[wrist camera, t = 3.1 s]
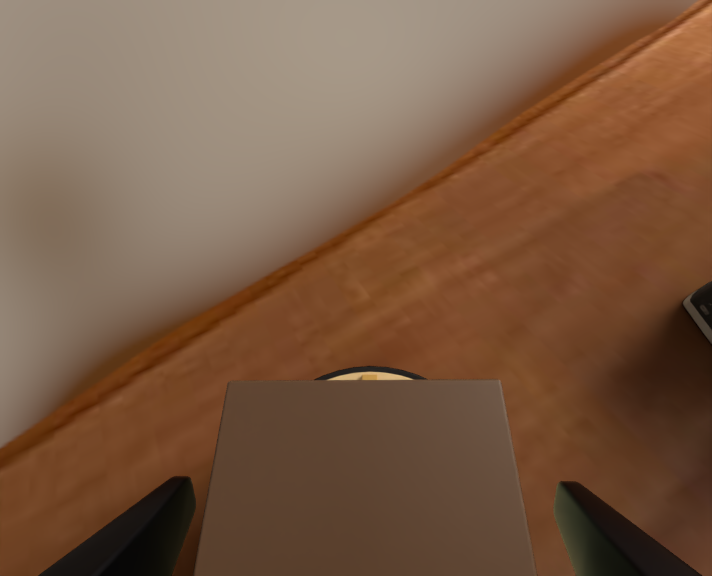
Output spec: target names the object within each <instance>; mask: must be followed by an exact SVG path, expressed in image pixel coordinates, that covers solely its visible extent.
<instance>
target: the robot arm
mask: <svg viewBox="0 0 712 576" xmlns="http://www.w3.org/2000/svg"><path fill="white" fill-rule="evenodd" d="M195 508H196V499H195V495H194V490H193V485H192V481H191V478H190V477H188V476H174V477H172V478H170V479H169V480H167V481H166V482H165V483H163V484H162V485H161V486H159V487H158V488H156V489H155V490H154V491H152V492H151V493H150V494H148V495H147V496H146V497H144V498H143V499H142V500H140V501H139V502H137V503H136V504H135V505H133V506H132V507H131V508H129V509H128V510H127V511H125V512H124V513H123V514H121V515H120V516H118V517H117V518H116V519H114V520H113V521H112V522H110V523H109V524H108V525H106V526H105V527H104V528H102V529H101V530H99V531H98V532H97V533H95V534H94V535H93V536H91V537H90V538H89V539H87V540H86V541H85V542H83V543H82V544H80V545H79V546H78V547H76V548H75V549H74V550H72V551H71V552H70V553H68V554H67V555H66V556H64V557H63V558H61V559H60V560H59V561H57V562H56V563H55V564H53V565H52V566H51V567H49V568H48V569H47V570H45V571H44V572H42V573H41V574H40V575H38V576H171V575H172V572H173V570H174V567H175V564H176V562H177V559H178V556H179V553H180V551H181V548H182V545H183V543H184V540H185V537H186V534H187V532H188V529H189V526H190V523H191V521H192V518H193V515H194V512H195ZM554 516H555V520H556V523H557V525H558V528H559V531H560V533H561V536H562V539H563V542H564V544H565V547H566V550H567V552H568V555H569V558H570V560H571V563H572V566H573V568H574V571H575V574H576V576H702V575H701V574H699V573H698V572H697V571H696V570H694V569H693V568H692V567H690V566H689V565H688V564H686V563H685V562H684V561H682V560H681V559H680V558H678V557H677V556H676V555H674V554H673V553H672V552H670V551H669V550H668V549H666V548H665V547H664V546H662V545H661V544H660V543H658V542H657V541H656V540H654V539H653V538H652V537H650V536H649V535H648V534H646V533H645V532H644V531H642V530H641V529H640V528H638V527H637V526H636V525H634V524H633V523H632V522H630V521H629V520H628V519H626V518H625V517H624V516H623V515H621V514H620V513H619V512H617V511H616V510H615V509H613V508H612V507H611V506H609V505H608V504H607V503H605V502H604V501H603V500H601V499H600V498H599V497H597V496H596V495H595V494H593V493H592V492H591V491H589V490H588V489H587V488H585V487H584V486H583V485H581V484H580V483H578V482H575V481H560V482H559V483H558V484H557V488H556V495H555V501H554Z"/></svg>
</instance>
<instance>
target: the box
mask: <svg viewBox="0 0 712 576" xmlns="http://www.w3.org/2000/svg"><path fill="white" fill-rule="evenodd" d="M193 576H537V571H536V566H535V560H534V555H533V549H532V544H531V539H530V533H529V528H528V523H527V517H526V512H525V507H524V501H523V496H522V491H521V485H520V480H519V475H518V469H517V464H516V459H515V453H514V448H513V442H512V437H511V432H510V426H509V421H508V416H507V410H506V405H505V400H504V394H503V389H502V384H501V381H500V380H498V379H438V380H413V379H410V378H407V377H404V376H400V375H395V374H390V373H382V372H360V373H351V374H346V375H341V376H337V377H334V378H331V379H329V380H276V381H230V382H228V384H227V390H226V395H225V401H224V406H223V412H222V417H221V423H220V428H219V434H218V439H217V445H216V450H215V456H214V461H213V467H212V472H211V478H210V483H209V489H208V494H207V500H206V505H205V511H204V516H203V522H202V527H201V533H200V538H199V544H198V549H197V555H196V560H195V566H194V571H193Z"/></svg>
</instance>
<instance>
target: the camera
mask: <svg viewBox="0 0 712 576" xmlns="http://www.w3.org/2000/svg"><path fill="white" fill-rule="evenodd" d="M683 305H684V307H685V308H686V310H687V311H688V313H689V314H690V315H691V317H692V318H693V319H694V321H695V322H696V324H697V325H698V326H699V328H700V329H701V330H702V332H703V333H704V334H705V336H706V337H707V339H708V340H709V341H710V343H711V344H712V282H709V283H707V284H706V285H704V286H703V287H701V288H700V289H698V290H697V291H695V292H694V293H692V294H691V295H689V296H688V297H687V298H686V299H685V300H684V301H683Z"/></svg>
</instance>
